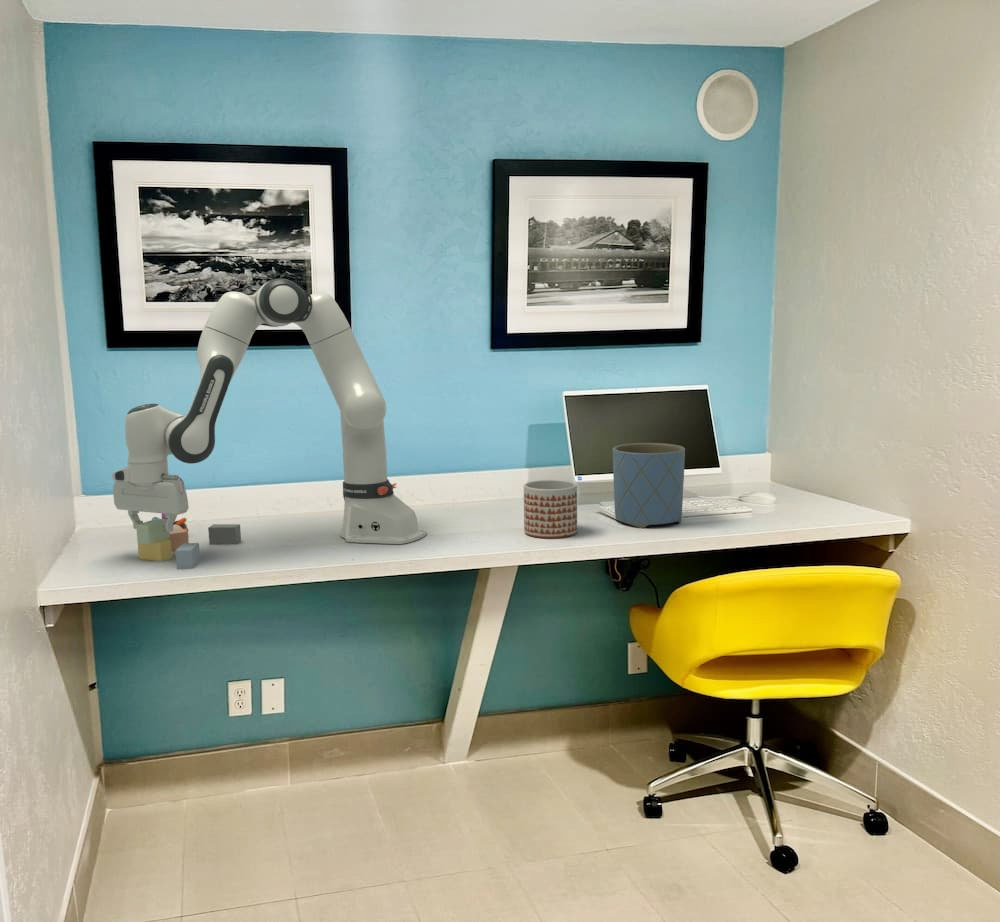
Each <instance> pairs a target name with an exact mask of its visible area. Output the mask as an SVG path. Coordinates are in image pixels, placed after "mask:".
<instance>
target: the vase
mask: <svg viewBox="0 0 1000 922" xmlns="http://www.w3.org/2000/svg"><path fill="white" fill-rule="evenodd" d="M523 525H524V526H523V528H524V531H523V532H524V533H525V535H527V536H529V537H531V538H532V537H533V538H537V539H553V540H554V539H563V538H568V537H571V536H574V535H576V534H577V533H578V484H577V483H576V482H573V481H570V480H565V479H539V480H537V479H536V480H532V481H528V482H526V483H524V484H523Z"/></svg>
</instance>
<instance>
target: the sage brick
mask: <svg viewBox="0 0 1000 922" xmlns="http://www.w3.org/2000/svg"><path fill="white" fill-rule="evenodd" d="M166 522H167V519H162V518H160V519H154V520H152V519H151V520H148V521H145V522H144V521H143V523H141V524H137V525H136V529H135V530H136V540H137V545H138V544H148V545H150V544H153V543H156V542H158V541H161V540H164V539H167V538H170V532H164V531H163V529H164V528H163V525H164V524H166Z"/></svg>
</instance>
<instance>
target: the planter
mask: <svg viewBox="0 0 1000 922" xmlns="http://www.w3.org/2000/svg"><path fill="white" fill-rule="evenodd" d="M685 458H686V448H685V447H684V446H682V445H679V444H671V443H662V442H634V443H633V442H632V443H624V444H618V445H615V446H614V447H612V472H613V497H614V498H613V499H614V517H615V519H616V520H617V521H618V522H620V523H624V524H627V525H630V526H633V527H636V528H640V529H644V528H646V527H647V526H652V525H653V526H654V525H668V524H672V523H676V522H677V524H681V521H682V516H683V500H684V485H685V484H684V481H685V463H686V461H685V460H686V459H685Z"/></svg>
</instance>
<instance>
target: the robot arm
mask: <svg viewBox="0 0 1000 922" xmlns="http://www.w3.org/2000/svg"><path fill="white" fill-rule="evenodd" d="M290 324H295V325H297V326H298V327H299V328H300V329H301V331H302V332H303V333H304V335H305V337H306V339H307V342H308V344H309V346H310V348H311V350H312V352H313V355H314V357H315V359H316V361H317V363H318V365H319V367H320V370H321V372H322V374H323V376H324V379H325V380H326V382H327V384H328V387H329V389H330V391H331V393H332V395H333V397H334V400H335V402H336V405H337V406H338V409H339V410H340V411H339V413H340V425H341V427H340V430H341V441H342V442H341V444H342V463H343V480H344V481H342V496H343V500H344V505H343V507H344V509H343V519H342V526H341V531H340V534H339V536H340V537H342V538H343V539H345V540H344V542H347V543H358V544H359V543H362V544H364V543H365V544H385V545H403V544H408V543H412V542H414V541H415V542H416V541H418V540H419V539H422V538H423V537H425V536H426V535H427V533H428V532H427V529H426V528H422V527H419V524H418V519H417V515H416V513H415V510H413V508H411V507H410V506H409V505H408V504H406V503H405V502H404V501H403V500H401V499H400V498H399V497H398V496H396V495H395V492H394V489H396V488H397V483H391V481H390V480H389V479H388V466H387V465H388V463H387V445H386V436H385V435H386V433H385V426H384V425H385V422H384V419H385V417H386V414H387V404H386V401H385V398H384V396H383V394H382V391H381V390H380V387H379V386H378V383H377V381H376V379H375V377H374V375H373V373H372V370H371V368H370V367H369V365H368V363H367V360H366V358H365V355H364V354H363V352H362V349H361V347H360V345H359V343H358V341H357V339H356V337H355V335H354V332H353V330H352V328H351V326H350V323H349V322H348V319H347V318H346V316H345V313H344V312H343V311H342V309H341V308H340V306H339V303H337V302H336V300H335V299H334V297H333V296H332V295H331V294H330V293H326V292H315V293H314V292H313V293H312V294H310V293H309V292H308V291H306V290H305V289H304V288H302V287H301V286H299V285H298V284H297V283H295V282H294V281H293V280H290V279H287V278H274V279H271V280H268V281H266V282H265V283H264V284H263V285H261V286H260V288H259V289H257V290H256V291H255V292H254V293H253V294H251V295H250V294H245V293H244V292H240V291H228V292H225V293H224V294H223V295H222V296H220V298H219V300H217V303H216V304H215V305H214V307H213V309H212V311H210V315H209V316H208V318H207V320H206V321H205V324H204V327H203V329H202V332H201V334H200V337H199V340H198V345H197V351H196V355H197V356H196V358H197V360H198V362H199V363H198V365H199V369H200V379H199V383H198V386H197V389H196V391H195V395H194V397H193V400H192V402H191V405H190V407H189V410H188V412H187V414H186V415H185V414H180V413H177V412H174V411H171V410H169V409H167V408H165V407H163V406H161V405H160V404H159V403H146V404H141V405H138V406H135V407H133V408H131V409H130V410H129V411H128V412H127V413H126V415H125V424H124V430H125V444H126V447H127V451H128V457H127V466H125V467H124V468H121V469H118V470H115V471H112V474H111V476H112V480H113V481H114V482H113V486H112V494H113V503H114V504H113V505H114V506H115V507H116V509H117V510H122V511H127V515H128V516H129V518H130V520H131V522H132V528H133V529H134V530H137V529H136V525H137V524H141V523H144V520H141V519H140V516H139V513H140V512H143V513H153V514H161V515H162V514H165V517H166V518H168V519H167V522H166V524H164V525H163V528H164V529H163V531H164V532H172V531H173V523H174V521H176V519H177V517H176V515H177V516H178V515H181V514H182V515H183V514H185V513H187V512H188V511H189V508H190V507H189V500H188V495H187V490H186V487H185V482H184V480H183V479H182V477H180V476H179V475H178V474H169V466H168V456H170V455H173V456H174V458H175V459H177V460H178V461H179V462H181V463H185V464H190V465H192V464H197V463H199V464H200V463H201V462H204V461H205V460H207V459H208V458H209V457H210V455H211V454H212V453H213V451H214V449H215V445H216V433H215V431H216V430H215V429H216V428H215V427H216V422H217V418H218V416H219V413H220V411H221V407H222V405H223V402H224V399H225V397H226V394H227V391H228V388H229V385H230V383H231V381H232V379H233V377H234V375H235V373H236V372H237V370H238V367H239V366H240V364H241V362H242V361H243V358H244V357H245V354H246V352H247V350H248V347H249V345H250V342H251V339H252V337H253V335H254V333H255V332H256V330H257V328H258V327H260V326H264V327H265V326H266V327H271V328H272V327H274V328H277V327H284V326H288V325H290Z"/></svg>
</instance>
